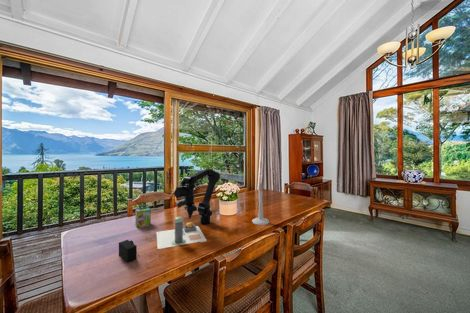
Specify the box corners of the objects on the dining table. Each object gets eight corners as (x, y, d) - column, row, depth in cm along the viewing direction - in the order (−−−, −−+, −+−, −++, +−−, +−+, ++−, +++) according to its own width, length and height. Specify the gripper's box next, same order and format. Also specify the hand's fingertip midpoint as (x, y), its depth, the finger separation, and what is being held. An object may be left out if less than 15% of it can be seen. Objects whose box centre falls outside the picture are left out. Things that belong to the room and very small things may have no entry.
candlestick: (268, 219, 153) (269, 181, 152) (269, 225, 140) (270, 183, 139) (252, 218, 154) (252, 180, 153) (252, 224, 142) (252, 183, 141)
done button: (192, 225, 134) (192, 221, 134) (193, 227, 130) (193, 224, 130) (185, 226, 133) (185, 222, 132) (186, 228, 128) (186, 225, 128)
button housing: (193, 226, 136) (193, 223, 136) (196, 230, 130) (196, 227, 129) (183, 228, 133) (183, 225, 133) (184, 232, 127) (184, 229, 127)
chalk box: (136, 228, 134) (136, 207, 133) (135, 224, 142) (134, 204, 141) (151, 225, 139) (151, 205, 138) (148, 221, 147) (148, 202, 146)
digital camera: (139, 258, 97) (139, 244, 97) (127, 263, 93) (127, 249, 93) (130, 251, 103) (129, 238, 103) (118, 256, 99) (118, 242, 99)
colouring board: (197, 226, 138) (197, 225, 138) (206, 241, 116) (206, 240, 116) (156, 232, 127) (156, 231, 127) (157, 250, 105) (157, 248, 105)
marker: (179, 239, 116) (179, 216, 116) (184, 241, 114) (184, 217, 113) (172, 242, 113) (173, 218, 112) (177, 244, 110) (178, 219, 110)
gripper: (175, 193, 136) (175, 215, 137) (178, 199, 119) (179, 224, 119) (191, 191, 141) (191, 213, 141) (197, 197, 123) (197, 222, 124)
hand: (189, 218), depth 131 cm, fingers closed
